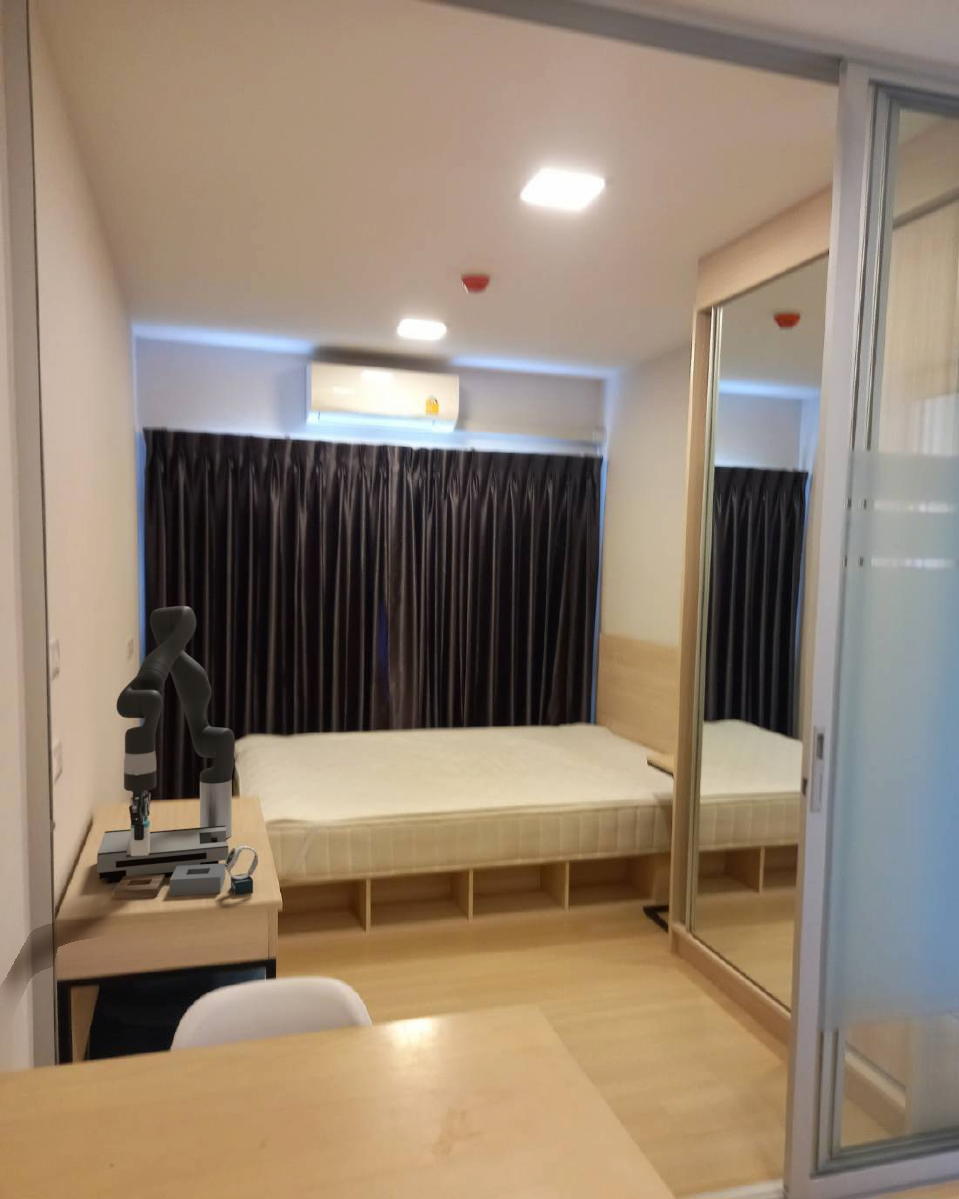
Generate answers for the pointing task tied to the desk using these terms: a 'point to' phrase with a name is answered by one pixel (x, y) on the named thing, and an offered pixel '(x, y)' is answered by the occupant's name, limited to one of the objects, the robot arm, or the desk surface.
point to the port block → (197, 879)
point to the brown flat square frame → (139, 886)
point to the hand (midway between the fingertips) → (140, 837)
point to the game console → (160, 852)
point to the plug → (141, 841)
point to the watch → (241, 881)
